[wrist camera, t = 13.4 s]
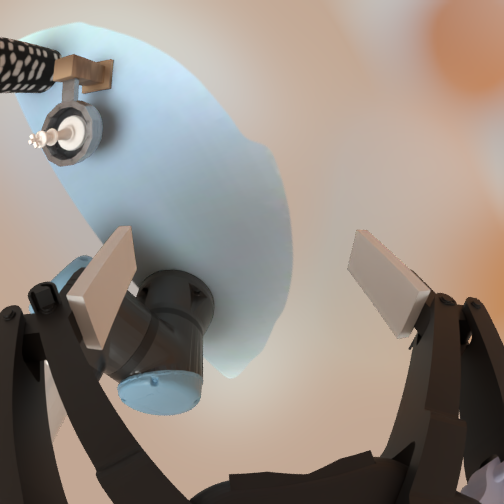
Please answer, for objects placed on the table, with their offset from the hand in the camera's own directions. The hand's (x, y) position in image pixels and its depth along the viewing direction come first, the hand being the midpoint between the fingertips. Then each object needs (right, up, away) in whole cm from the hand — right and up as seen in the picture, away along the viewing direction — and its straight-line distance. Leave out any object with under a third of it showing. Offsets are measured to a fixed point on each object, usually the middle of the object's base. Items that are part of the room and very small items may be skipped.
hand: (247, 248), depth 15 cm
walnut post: (-24, +27, +15) cm, 40 cm away
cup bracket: (-24, +18, +12) cm, 32 cm away
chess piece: (-24, +16, +13) cm, 31 cm away
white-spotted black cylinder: (-36, +31, +12) cm, 49 cm away
